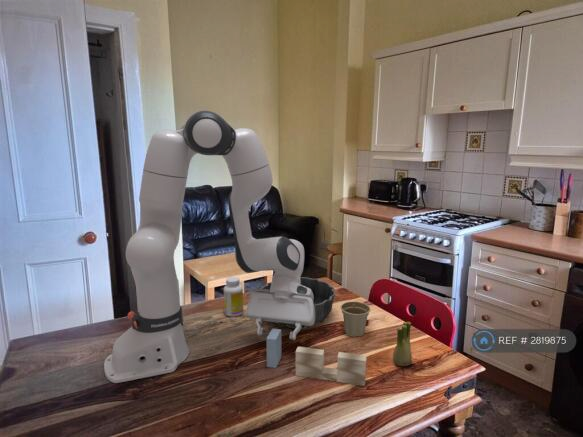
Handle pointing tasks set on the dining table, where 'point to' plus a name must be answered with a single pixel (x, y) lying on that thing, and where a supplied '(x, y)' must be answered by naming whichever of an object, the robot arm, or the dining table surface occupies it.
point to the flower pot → (355, 317)
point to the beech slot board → (347, 371)
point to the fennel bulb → (403, 346)
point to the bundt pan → (315, 299)
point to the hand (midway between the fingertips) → (275, 337)
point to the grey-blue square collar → (273, 348)
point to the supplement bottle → (233, 297)
